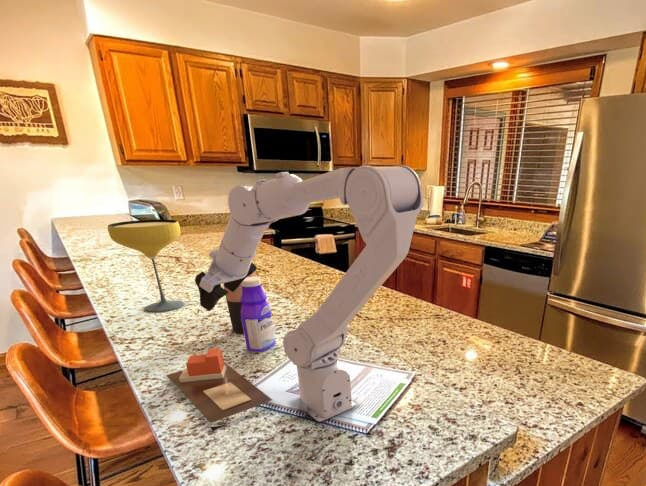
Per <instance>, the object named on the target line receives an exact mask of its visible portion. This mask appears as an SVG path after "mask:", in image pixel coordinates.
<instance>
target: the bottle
mask: <svg viewBox="0 0 646 486" xmlns="http://www.w3.org/2000/svg"><path fill="white" fill-rule="evenodd" d="M241 286H242V295H241V298H240V301H241V302H242V307H241V320H242V325H243V330H244V334H243V336H244V341H245V347H246V350H247V351H248V352H253V353H261V352H266V351H268V350H271V349H272V348H273V347H274V346H276V343H277V340H276V335H275V330H274V329H275V328H274V323H273V317H272V315H273V314H272V309H271V305H270V304H269V303H268V301H267V299H268V296H267V294H266V293H265V292H264V290H263V287H262V282H261V278H260V277H258V276H254V277H247V278H245V279H244V281H243V282H242V283H241Z"/></svg>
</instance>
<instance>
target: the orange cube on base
mask: <svg viewBox="0 0 646 486" xmlns="http://www.w3.org/2000/svg"><path fill="white" fill-rule="evenodd" d="M222 351H223V350H222V348H221V347H219V348H218V347H217V348H208V349H207V352H206V353H205V354H204V353H203V354H193V355H189V357H188V359H187V361H186V363H185V366H186V368H183V370H182V371H183V372H182V373H181V375H180V377H179V381H180V382H190V381H200V380H210V379H219V378H223V377H224V374H225V371H226V365H224V363H225V361H224V356H223V352H222Z"/></svg>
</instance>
